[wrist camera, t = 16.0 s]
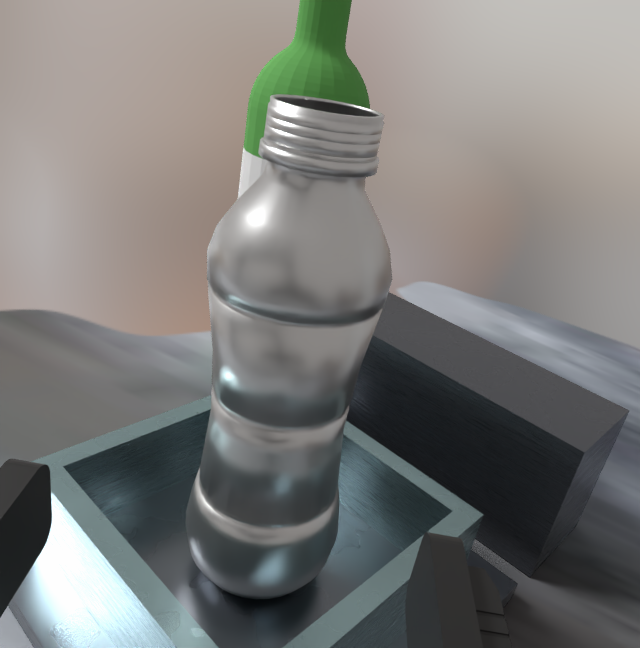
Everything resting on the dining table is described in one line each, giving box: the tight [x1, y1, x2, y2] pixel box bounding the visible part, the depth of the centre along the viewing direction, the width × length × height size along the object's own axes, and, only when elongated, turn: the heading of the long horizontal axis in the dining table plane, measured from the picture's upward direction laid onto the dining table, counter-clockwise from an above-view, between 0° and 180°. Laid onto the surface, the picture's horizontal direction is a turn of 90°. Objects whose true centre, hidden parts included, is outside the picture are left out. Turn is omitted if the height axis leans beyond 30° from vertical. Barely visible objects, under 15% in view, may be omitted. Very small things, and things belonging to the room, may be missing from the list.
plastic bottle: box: [185, 94, 392, 599], centre depth 24 cm, size 6×7×20 cm
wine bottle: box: [238, 0, 370, 198], centre depth 40 cm, size 8×8×30 cm
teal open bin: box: [8, 292, 629, 648], centre depth 30 cm, size 26×18×8 cm
